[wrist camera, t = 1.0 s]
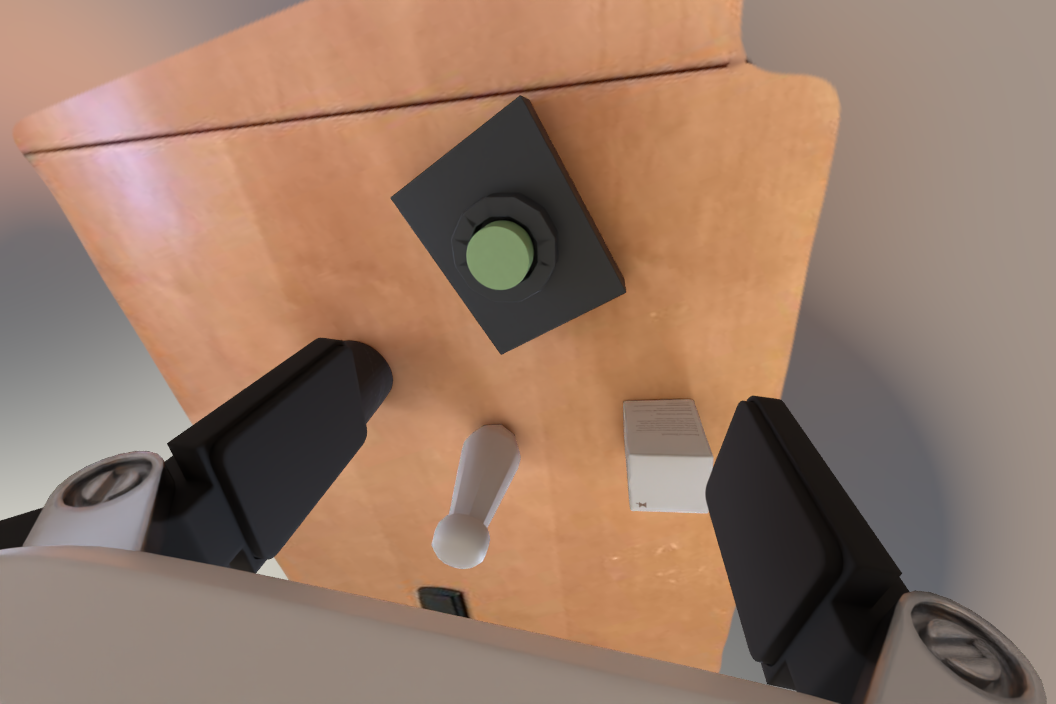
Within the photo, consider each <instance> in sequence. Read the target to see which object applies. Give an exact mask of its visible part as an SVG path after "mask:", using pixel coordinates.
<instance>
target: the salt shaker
mask: <svg viewBox="0 0 1056 704" xmlns="http://www.w3.org/2000/svg"><path fill="white" fill-rule="evenodd" d="M520 458H521V456H520V452H519V448H518V444H517V441H516V437H515V435H514V434H513V433H512V432H510V431H509V430H508V429H506V428H505V427H504V426H502V425H501V424H500V425H484V426H482V427H481V428H479V429H478V430H476V431H475V432H473V433H472V434H471V435H470V436H469V437H468V438H467V439H466V440H465V442H464V444H463V448H462V452H461V457H460V462H459V467H458V472H457V477H456V482H455V487H454V492H453V497H452V502H451V508H450V513H449V515H447V516H446V517H445V518H443V519H442V520H441V521H440V522H439V523H438V525H437V527H436V529H435V533H434V537H433V542H432V547H433V549H434V551H435V553H436V555H437V557H438V558H439V559H440V560H441V561H442V562H443V563H445V564H447V565H449V566H452V567H455V568H460V569H467V568H472V567H474V566H476V565H478V564H479V563H481V562H482V561H483V559H484V557H485V555H486V553H487V550H488V546H489V542H490V535H489V532H488V529H487V528H488V526H489V524H490V522H491V520H492V518H493V516H494V514H495V512H496V510H497V508H498V506H499V504H500V502H501V500H502V498H503V496H504V495H505V493H506V491H507V489H508V487H509V485H510V483H511V481H512V479H513V477H514V475H515V473H516V471H517V469H518V466H519V463H520Z"/></svg>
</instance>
